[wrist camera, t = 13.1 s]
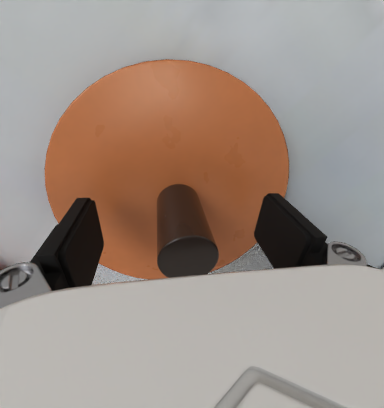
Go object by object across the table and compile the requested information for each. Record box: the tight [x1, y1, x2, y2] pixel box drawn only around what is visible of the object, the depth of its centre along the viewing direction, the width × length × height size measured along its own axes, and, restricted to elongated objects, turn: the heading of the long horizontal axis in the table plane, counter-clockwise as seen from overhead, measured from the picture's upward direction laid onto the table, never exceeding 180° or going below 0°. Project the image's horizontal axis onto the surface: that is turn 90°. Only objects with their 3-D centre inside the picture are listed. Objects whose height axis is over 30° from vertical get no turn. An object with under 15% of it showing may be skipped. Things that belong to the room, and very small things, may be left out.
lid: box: [45, 59, 289, 280], centre depth 11 cm, size 14×14×6 cm
